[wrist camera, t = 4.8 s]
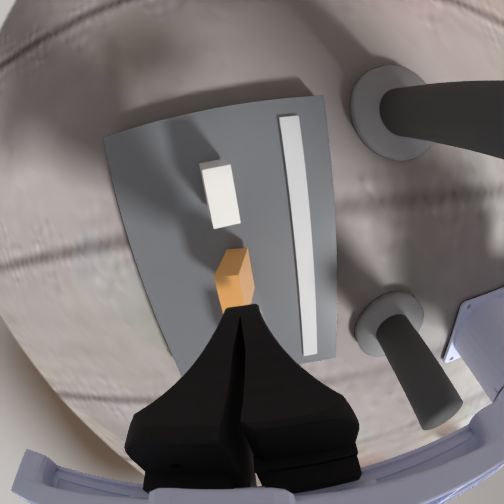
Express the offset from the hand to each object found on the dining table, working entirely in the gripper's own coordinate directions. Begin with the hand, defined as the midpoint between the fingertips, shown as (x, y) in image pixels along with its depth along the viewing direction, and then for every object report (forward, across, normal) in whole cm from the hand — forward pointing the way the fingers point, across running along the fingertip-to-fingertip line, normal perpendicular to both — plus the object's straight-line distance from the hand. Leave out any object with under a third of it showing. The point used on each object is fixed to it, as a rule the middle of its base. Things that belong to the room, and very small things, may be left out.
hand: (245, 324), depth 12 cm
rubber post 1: (+7, -11, -8) cm, 15 cm away
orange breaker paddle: (+5, 0, 0) cm, 5 cm away
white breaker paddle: (+5, +1, -5) cm, 7 cm away
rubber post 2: (+7, -11, +8) cm, 15 cm away
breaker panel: (+7, 0, 0) cm, 7 cm away
